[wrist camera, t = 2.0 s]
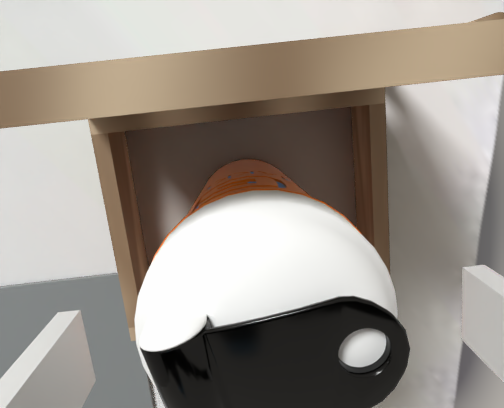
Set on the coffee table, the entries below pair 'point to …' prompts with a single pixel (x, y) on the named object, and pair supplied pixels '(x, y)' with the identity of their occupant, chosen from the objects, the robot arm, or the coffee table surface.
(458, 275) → the coffee table surface
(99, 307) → the slate coaster
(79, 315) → the robot arm
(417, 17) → the coffee table surface
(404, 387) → the coffee table surface
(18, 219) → the coffee table surface
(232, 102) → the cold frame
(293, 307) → the shaker bottle
